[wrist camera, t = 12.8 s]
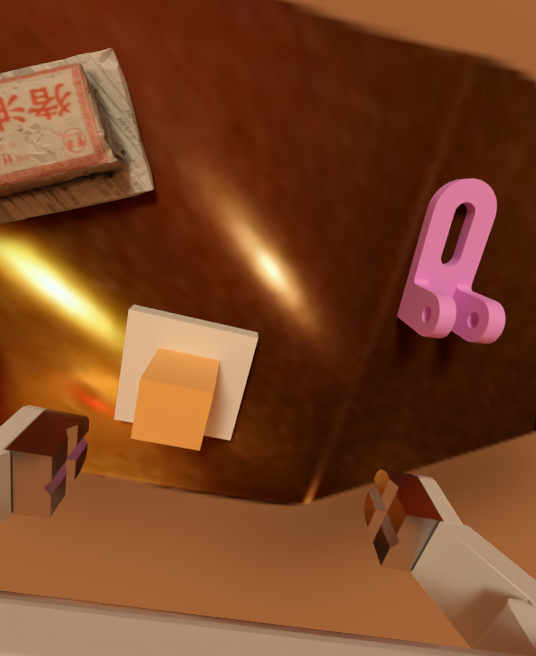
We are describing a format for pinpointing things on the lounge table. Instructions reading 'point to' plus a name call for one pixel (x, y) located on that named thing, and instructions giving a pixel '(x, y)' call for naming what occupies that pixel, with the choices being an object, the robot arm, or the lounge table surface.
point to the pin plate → (192, 338)
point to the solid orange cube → (175, 399)
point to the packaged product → (68, 137)
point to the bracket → (453, 269)
